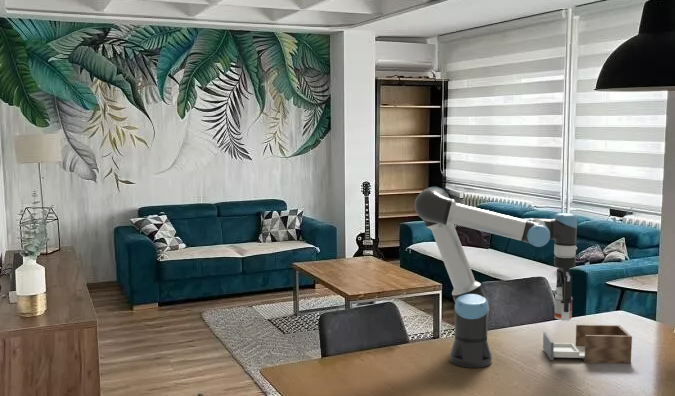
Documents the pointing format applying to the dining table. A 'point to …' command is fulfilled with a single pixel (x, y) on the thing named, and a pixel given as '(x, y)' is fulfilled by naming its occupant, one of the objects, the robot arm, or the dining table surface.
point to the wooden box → (604, 343)
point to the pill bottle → (560, 304)
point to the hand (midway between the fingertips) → (563, 317)
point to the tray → (561, 349)
